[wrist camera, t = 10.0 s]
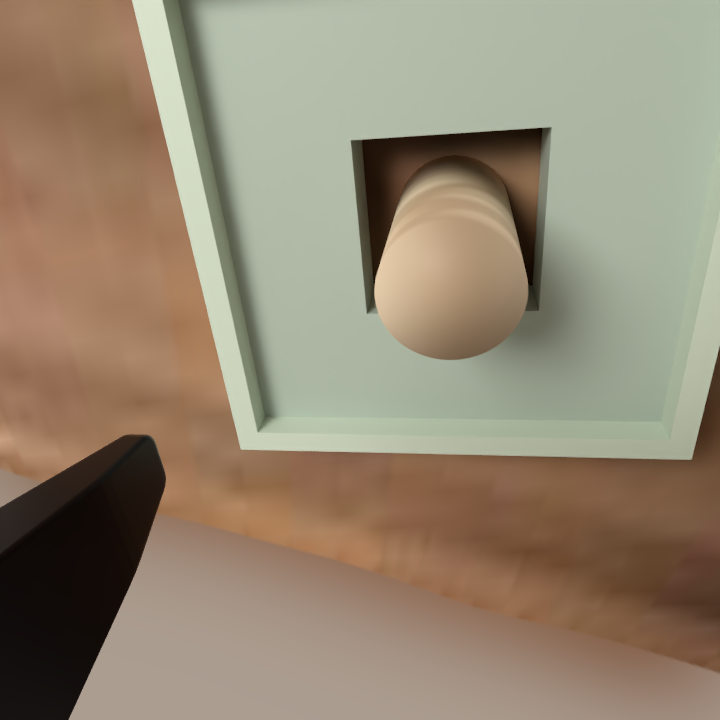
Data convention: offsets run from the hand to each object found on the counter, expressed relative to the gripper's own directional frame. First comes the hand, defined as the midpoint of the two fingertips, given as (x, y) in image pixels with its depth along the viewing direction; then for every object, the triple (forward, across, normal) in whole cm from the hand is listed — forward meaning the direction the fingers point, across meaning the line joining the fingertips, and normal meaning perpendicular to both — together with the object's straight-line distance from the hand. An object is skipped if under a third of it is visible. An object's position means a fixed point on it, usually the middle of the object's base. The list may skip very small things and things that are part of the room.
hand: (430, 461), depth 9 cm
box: (+12, 0, 0) cm, 13 cm away
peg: (+12, 0, 0) cm, 13 cm away
